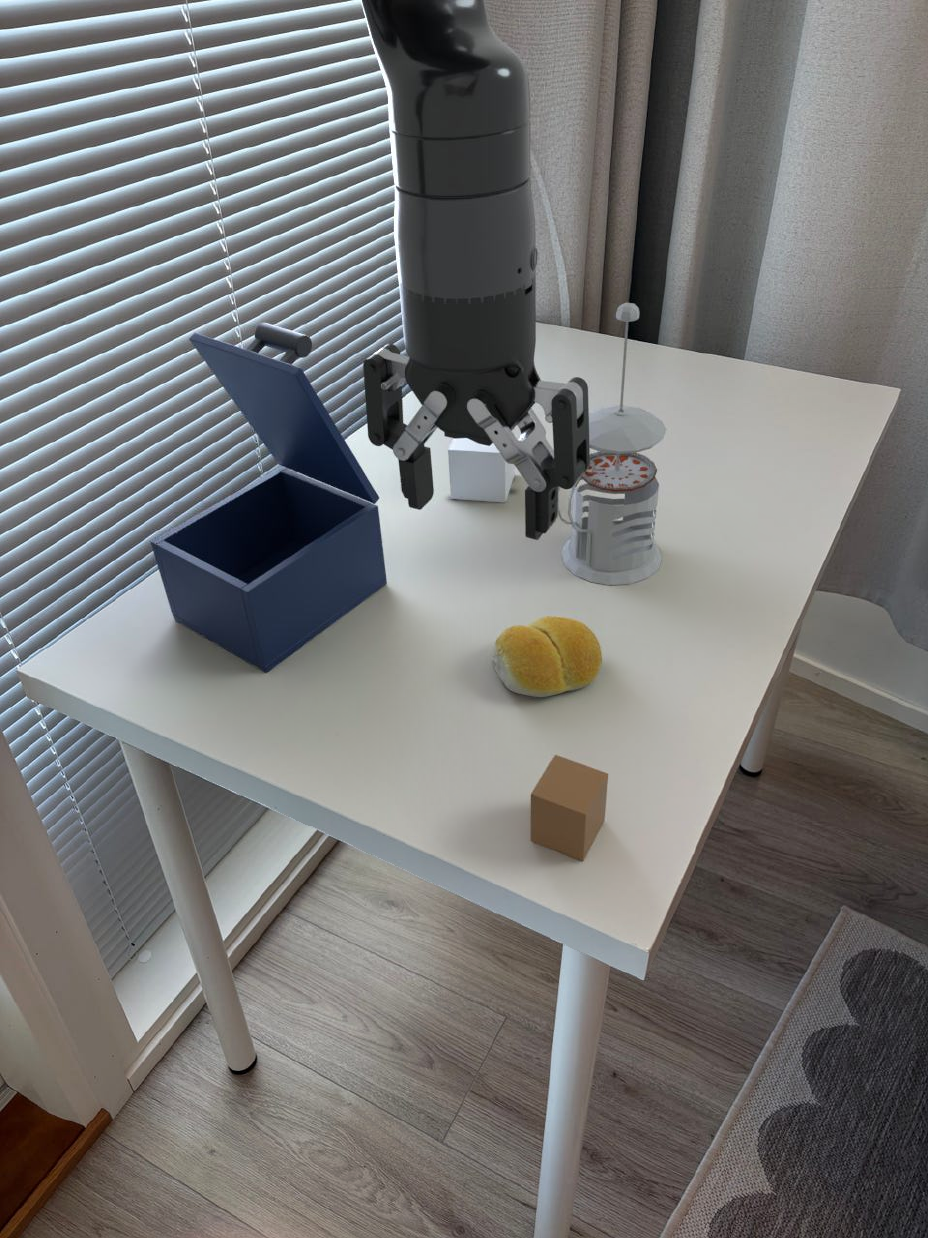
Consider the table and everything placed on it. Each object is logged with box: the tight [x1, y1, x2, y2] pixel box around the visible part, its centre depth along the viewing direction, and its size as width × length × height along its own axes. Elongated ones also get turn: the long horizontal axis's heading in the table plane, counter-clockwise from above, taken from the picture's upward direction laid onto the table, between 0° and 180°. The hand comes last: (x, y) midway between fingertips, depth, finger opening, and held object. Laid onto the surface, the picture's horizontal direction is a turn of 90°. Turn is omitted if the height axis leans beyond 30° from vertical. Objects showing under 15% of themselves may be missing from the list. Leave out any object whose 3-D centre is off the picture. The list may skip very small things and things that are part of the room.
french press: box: [557, 302, 667, 586], centre depth 85 cm, size 10×12×25 cm
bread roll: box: [491, 615, 603, 698], centre depth 79 cm, size 8×9×4 cm
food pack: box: [530, 754, 609, 862], centre depth 66 cm, size 4×4×5 cm
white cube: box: [447, 428, 516, 504], centre depth 102 cm, size 6×6×6 cm
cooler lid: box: [188, 322, 380, 505], centre depth 82 cm, size 16×13×5 cm
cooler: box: [150, 465, 388, 674], centre depth 87 cm, size 16×13×9 cm
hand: (478, 517), depth 62 cm, fingers open, 8 cm apart
